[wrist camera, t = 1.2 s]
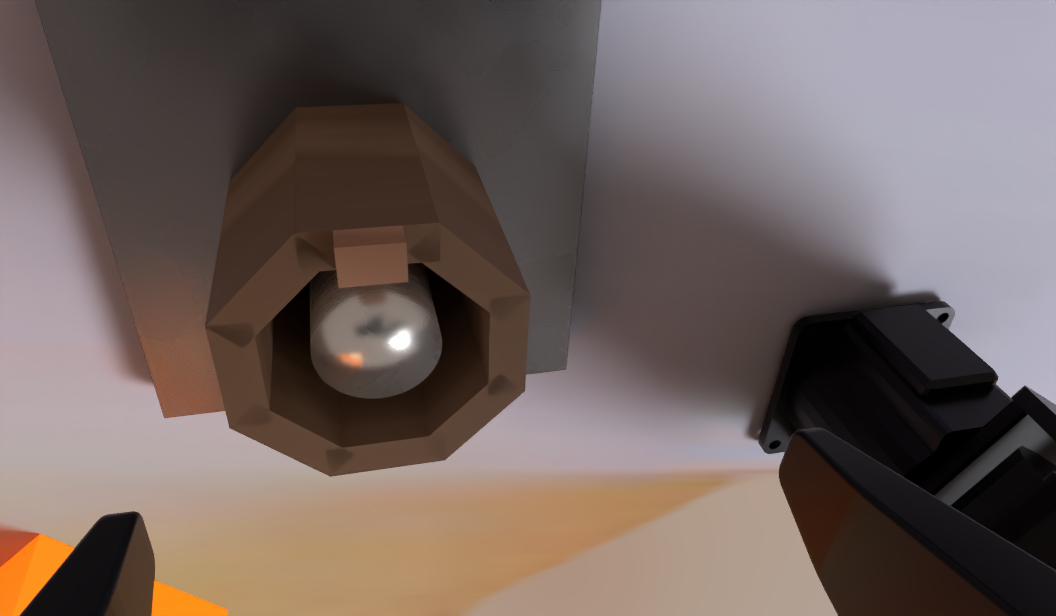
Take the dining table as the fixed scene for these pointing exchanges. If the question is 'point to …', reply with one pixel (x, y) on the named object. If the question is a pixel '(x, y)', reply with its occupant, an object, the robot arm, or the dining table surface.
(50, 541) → the orange juice
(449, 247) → the sleeve
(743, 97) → the dining table surface
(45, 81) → the dining table surface
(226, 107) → the stand
